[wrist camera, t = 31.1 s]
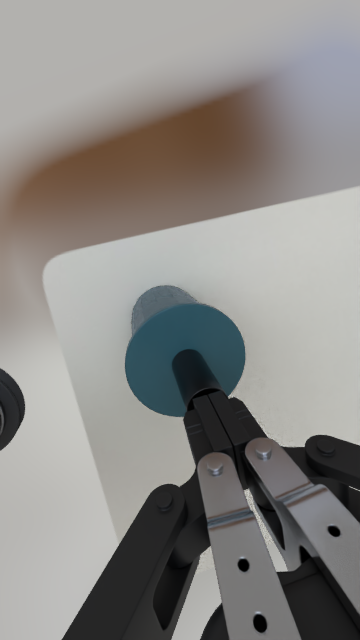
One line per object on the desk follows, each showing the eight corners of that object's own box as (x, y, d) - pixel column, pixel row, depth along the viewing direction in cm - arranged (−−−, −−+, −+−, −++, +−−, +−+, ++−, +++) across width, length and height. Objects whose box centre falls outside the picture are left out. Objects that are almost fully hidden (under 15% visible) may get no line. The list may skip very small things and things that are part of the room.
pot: (141, 355, 30) (148, 419, 19) (124, 294, 28) (120, 327, 17) (202, 338, 31) (241, 391, 20) (189, 278, 29) (226, 300, 18)
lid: (142, 420, 20) (148, 494, 14) (110, 317, 17) (100, 356, 12) (246, 389, 21) (291, 446, 15) (229, 286, 18) (277, 307, 12)
